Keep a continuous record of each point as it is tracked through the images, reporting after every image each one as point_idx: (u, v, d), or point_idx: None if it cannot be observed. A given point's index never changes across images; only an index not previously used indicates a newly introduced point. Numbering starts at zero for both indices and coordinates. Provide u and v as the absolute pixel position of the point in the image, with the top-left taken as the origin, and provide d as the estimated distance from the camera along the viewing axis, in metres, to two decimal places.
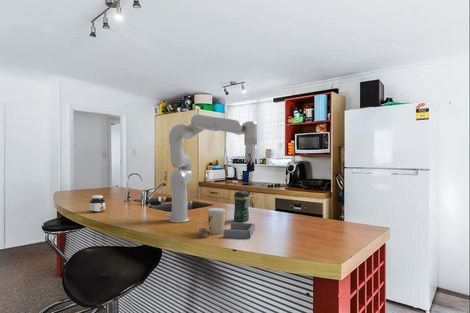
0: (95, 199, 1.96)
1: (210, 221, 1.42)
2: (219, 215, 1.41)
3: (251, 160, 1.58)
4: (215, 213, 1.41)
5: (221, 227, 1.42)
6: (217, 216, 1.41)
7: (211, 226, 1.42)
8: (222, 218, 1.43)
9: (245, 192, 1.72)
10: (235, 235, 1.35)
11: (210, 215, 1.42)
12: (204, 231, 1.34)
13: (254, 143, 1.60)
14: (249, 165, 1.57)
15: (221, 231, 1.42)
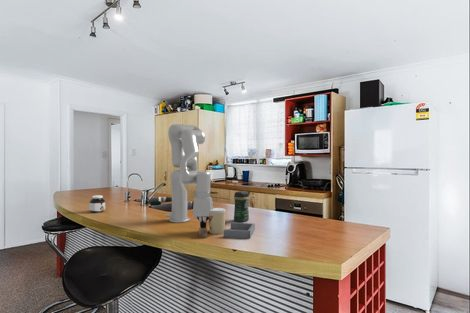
0: (95, 199, 1.96)
1: (211, 221, 1.42)
2: (219, 215, 1.41)
3: None
4: (216, 213, 1.41)
5: (222, 227, 1.42)
6: (218, 216, 1.41)
7: (212, 226, 1.42)
8: (223, 218, 1.43)
9: (245, 192, 1.72)
10: (235, 235, 1.35)
11: (211, 215, 1.42)
12: (204, 231, 1.34)
13: None
14: None
15: (222, 231, 1.42)
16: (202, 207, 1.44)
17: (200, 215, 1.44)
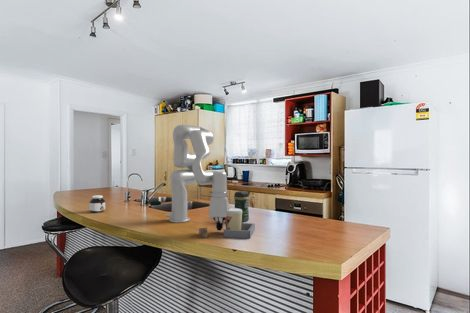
0: (95, 199, 1.96)
1: (229, 222, 1.40)
2: (238, 215, 1.41)
3: None
4: (235, 213, 1.40)
5: (240, 227, 1.42)
6: (237, 216, 1.40)
7: (230, 227, 1.40)
8: (241, 218, 1.43)
9: (245, 192, 1.72)
10: (235, 235, 1.35)
11: (229, 216, 1.40)
12: (204, 231, 1.34)
13: None
14: (222, 223, 1.45)
15: None
16: (219, 208, 1.42)
17: (216, 216, 1.42)
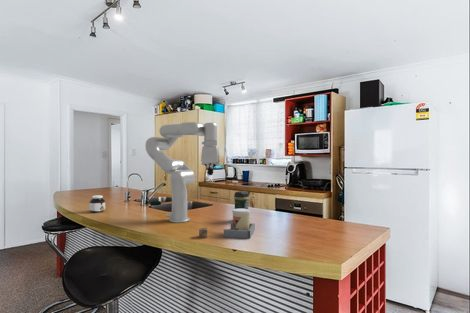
0: (95, 199, 1.96)
1: (238, 222, 1.40)
2: (247, 215, 1.40)
3: (218, 161, 1.62)
4: (244, 214, 1.39)
5: (248, 227, 1.42)
6: (246, 216, 1.40)
7: (239, 227, 1.40)
8: (249, 218, 1.42)
9: (245, 192, 1.72)
10: (235, 235, 1.35)
11: (238, 216, 1.39)
12: (204, 231, 1.34)
13: None
14: None
15: None
16: (209, 154, 1.59)
17: (208, 161, 1.59)
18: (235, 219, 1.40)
